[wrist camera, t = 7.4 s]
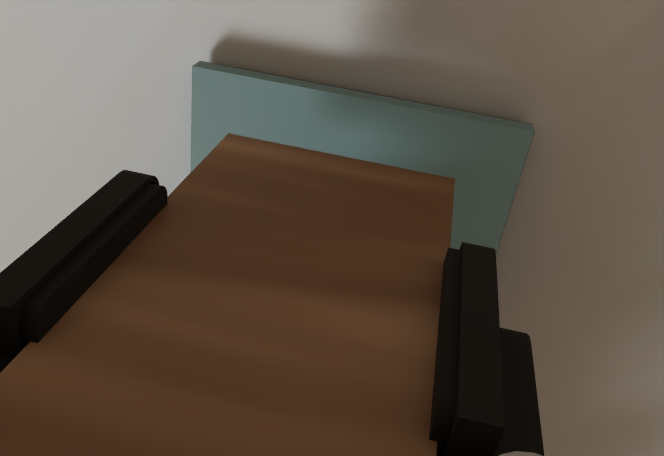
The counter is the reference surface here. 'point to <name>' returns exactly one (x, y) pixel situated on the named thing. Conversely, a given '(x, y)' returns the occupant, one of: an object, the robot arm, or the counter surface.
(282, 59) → the counter surface
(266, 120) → the board
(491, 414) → the robot arm
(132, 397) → the domino
